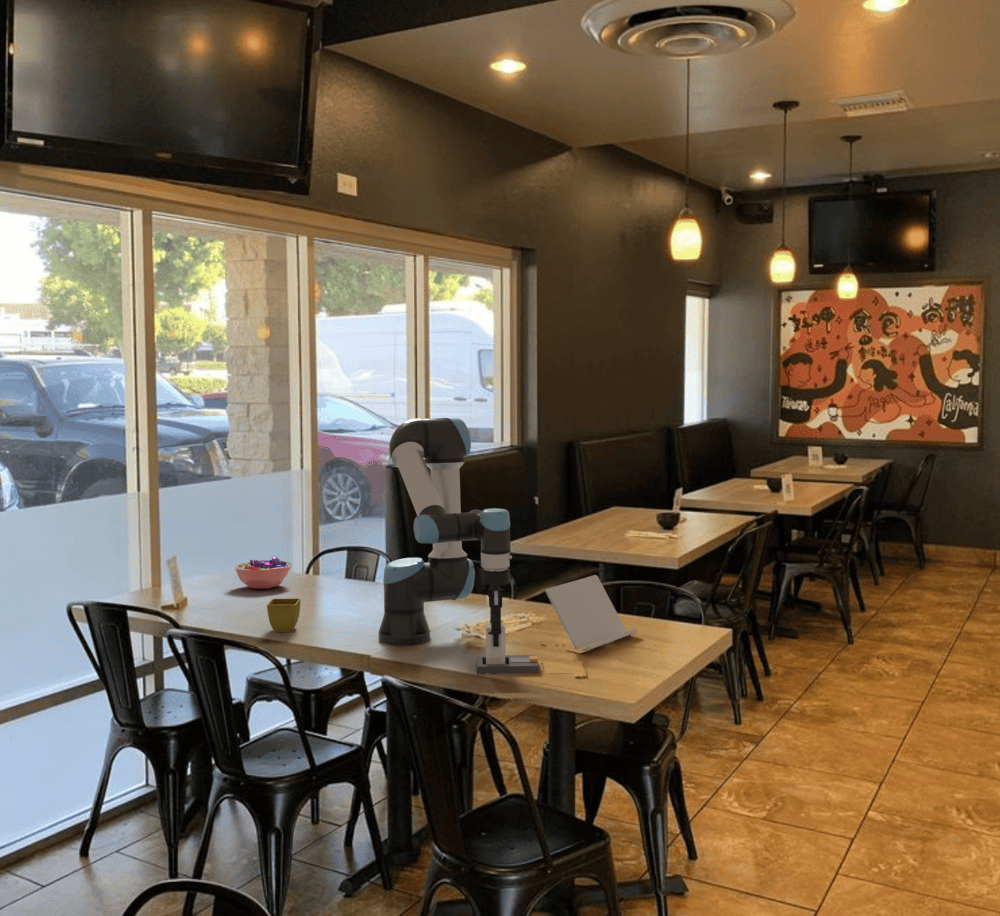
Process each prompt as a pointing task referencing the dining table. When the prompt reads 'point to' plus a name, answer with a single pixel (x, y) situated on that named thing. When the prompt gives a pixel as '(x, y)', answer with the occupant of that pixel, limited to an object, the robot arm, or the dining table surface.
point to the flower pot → (283, 614)
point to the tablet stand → (587, 613)
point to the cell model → (263, 573)
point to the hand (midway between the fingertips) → (495, 654)
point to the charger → (488, 646)
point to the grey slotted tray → (509, 664)
